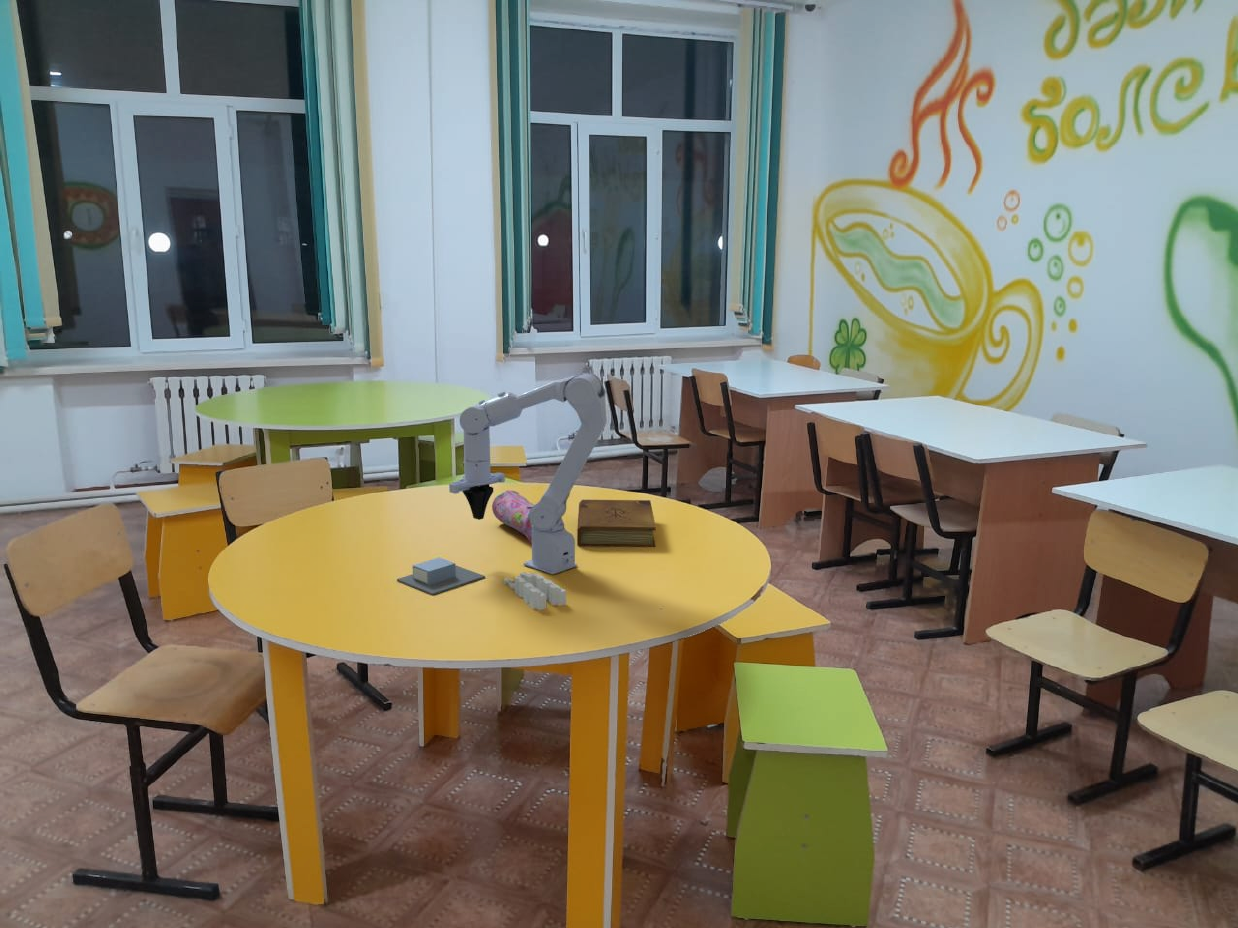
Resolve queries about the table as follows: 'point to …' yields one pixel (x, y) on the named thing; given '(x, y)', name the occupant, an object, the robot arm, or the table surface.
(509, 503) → the pencil case
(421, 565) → the block
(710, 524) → the table surface
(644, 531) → the diary
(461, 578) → the mat
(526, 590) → the modular blocks
